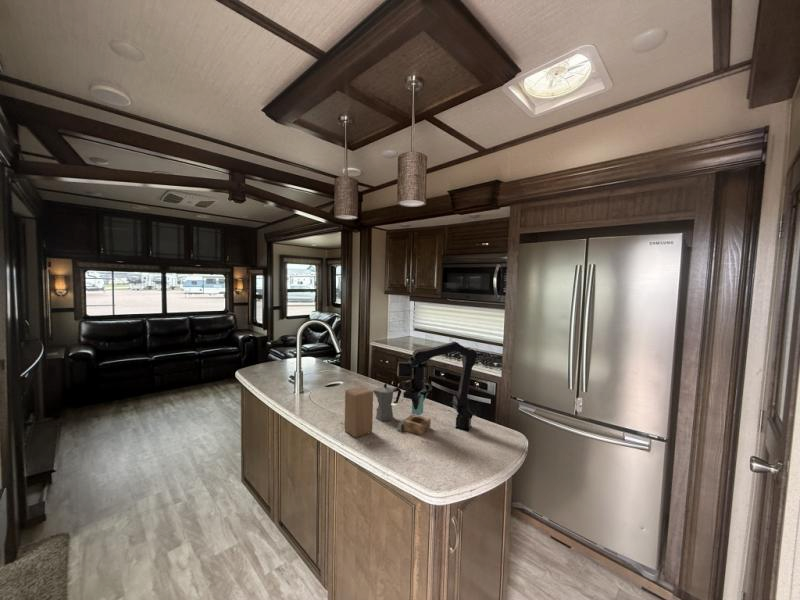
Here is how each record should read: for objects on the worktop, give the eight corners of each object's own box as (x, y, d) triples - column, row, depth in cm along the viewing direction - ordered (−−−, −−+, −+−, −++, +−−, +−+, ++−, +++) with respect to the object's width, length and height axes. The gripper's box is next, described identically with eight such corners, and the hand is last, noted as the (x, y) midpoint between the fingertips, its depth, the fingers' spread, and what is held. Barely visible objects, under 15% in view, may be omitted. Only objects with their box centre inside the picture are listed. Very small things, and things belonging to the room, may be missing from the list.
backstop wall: (415, 422, 163) (415, 415, 163) (401, 432, 151) (401, 425, 151) (411, 421, 164) (412, 414, 164) (397, 431, 152) (397, 423, 152)
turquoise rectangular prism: (423, 412, 155) (423, 394, 154) (419, 415, 151) (419, 396, 151) (415, 410, 157) (416, 392, 156) (411, 413, 153) (412, 395, 153)
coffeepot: (374, 422, 160) (375, 387, 160) (370, 415, 169) (371, 382, 169) (403, 419, 165) (404, 385, 164) (398, 413, 174) (398, 380, 173)
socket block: (430, 427, 156) (430, 418, 156) (421, 435, 148) (421, 425, 148) (413, 423, 161) (413, 414, 161) (403, 430, 153) (403, 420, 153)
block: (343, 430, 151) (344, 389, 150) (361, 425, 157) (362, 385, 157) (354, 438, 143) (355, 395, 143) (373, 432, 150) (374, 390, 149)
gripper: (413, 369, 165) (412, 399, 166) (394, 377, 150) (393, 410, 150) (432, 372, 160) (431, 403, 160) (414, 381, 144) (413, 415, 144)
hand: (417, 408), depth 154 cm, fingers closed on turquoise rectangular prism, 4 cm apart
